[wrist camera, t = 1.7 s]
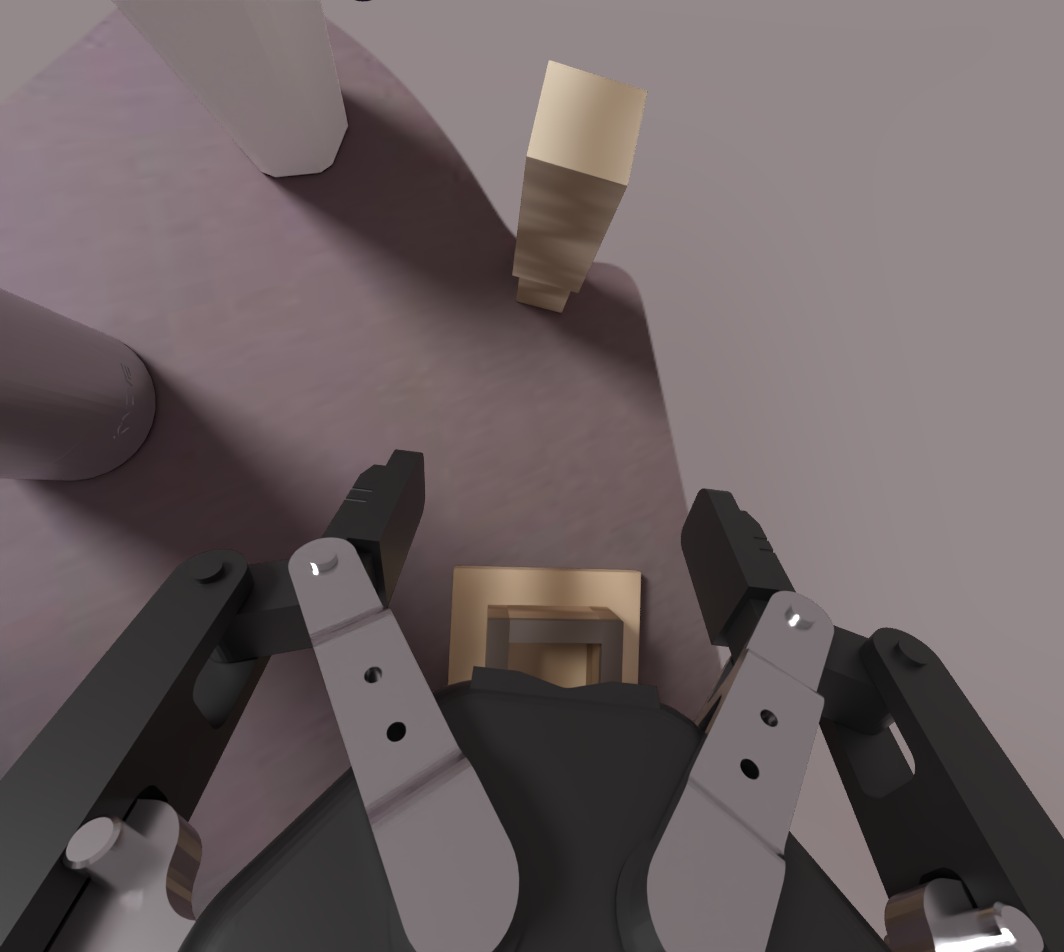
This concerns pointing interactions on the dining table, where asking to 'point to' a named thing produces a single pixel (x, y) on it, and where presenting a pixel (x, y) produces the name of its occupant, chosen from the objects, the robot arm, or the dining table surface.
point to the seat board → (546, 623)
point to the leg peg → (572, 180)
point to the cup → (255, 73)
